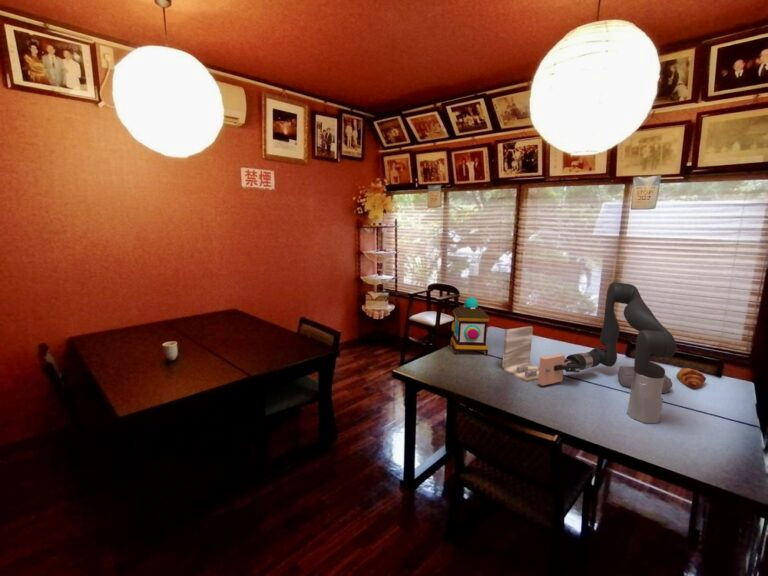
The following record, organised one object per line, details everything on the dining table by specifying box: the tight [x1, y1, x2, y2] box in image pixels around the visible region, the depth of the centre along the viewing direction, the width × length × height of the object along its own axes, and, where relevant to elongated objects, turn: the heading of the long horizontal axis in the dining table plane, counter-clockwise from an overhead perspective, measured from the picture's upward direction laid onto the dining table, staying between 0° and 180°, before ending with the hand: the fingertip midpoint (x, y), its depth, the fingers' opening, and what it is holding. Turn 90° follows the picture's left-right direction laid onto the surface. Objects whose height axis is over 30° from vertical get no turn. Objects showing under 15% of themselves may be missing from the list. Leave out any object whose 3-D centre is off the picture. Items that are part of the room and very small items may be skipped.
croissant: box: [675, 367, 707, 389], centre depth 170 cm, size 21×10×8 cm, turn 149°
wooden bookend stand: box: [501, 326, 539, 383], centre depth 175 cm, size 16×16×20 cm
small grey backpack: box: [617, 365, 673, 394], centre depth 164 cm, size 15×8×20 cm
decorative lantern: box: [450, 296, 491, 356], centre depth 204 cm, size 20×20×30 cm
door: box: [537, 353, 566, 387], centre depth 163 cm, size 3×12×12 cm, turn 114°
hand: (551, 367), depth 163 cm, fingers closed on door, 2 cm apart
